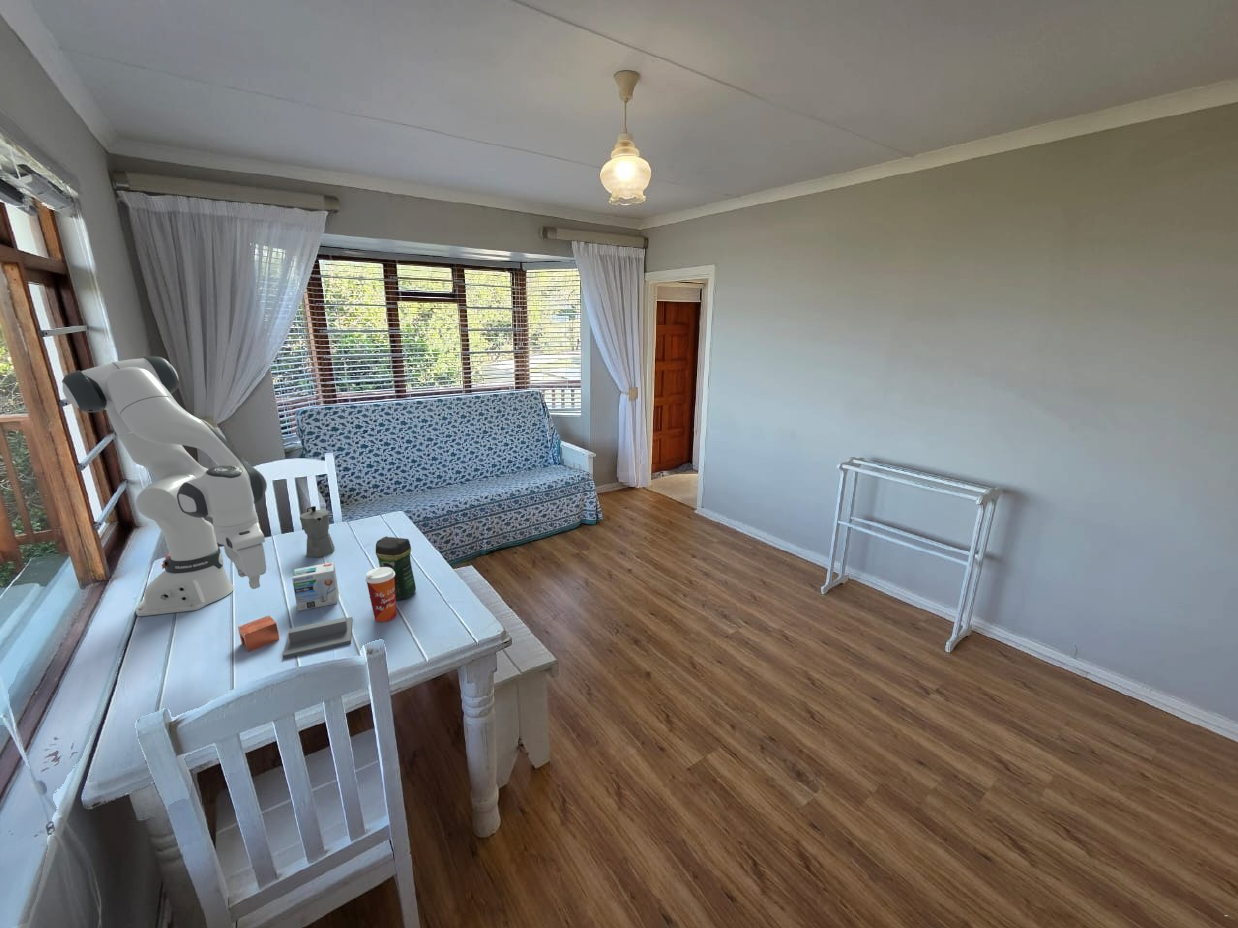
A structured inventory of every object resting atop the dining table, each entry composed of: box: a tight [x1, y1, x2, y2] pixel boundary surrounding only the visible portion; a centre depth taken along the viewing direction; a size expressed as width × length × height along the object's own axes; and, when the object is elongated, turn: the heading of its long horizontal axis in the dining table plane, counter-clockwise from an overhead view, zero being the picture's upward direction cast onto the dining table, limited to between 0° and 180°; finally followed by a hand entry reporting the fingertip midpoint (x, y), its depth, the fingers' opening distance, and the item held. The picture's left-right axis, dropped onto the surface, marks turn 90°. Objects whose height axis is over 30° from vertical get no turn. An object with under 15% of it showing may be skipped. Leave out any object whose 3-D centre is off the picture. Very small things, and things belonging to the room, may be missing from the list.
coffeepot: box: [299, 505, 336, 559], centre depth 181 cm, size 15×9×18 cm, turn 44°
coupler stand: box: [282, 616, 354, 660], centre depth 132 cm, size 15×12×4 cm
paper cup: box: [364, 566, 397, 623], centre depth 141 cm, size 8×8×14 cm
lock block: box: [237, 615, 280, 653], centre depth 130 cm, size 7×6×5 cm
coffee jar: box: [375, 535, 417, 601], centre depth 152 cm, size 10×8×19 cm
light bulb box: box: [291, 561, 340, 612], centre depth 148 cm, size 11×7×11 cm, turn 118°
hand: (249, 581), depth 126 cm, fingers open, 8 cm apart
